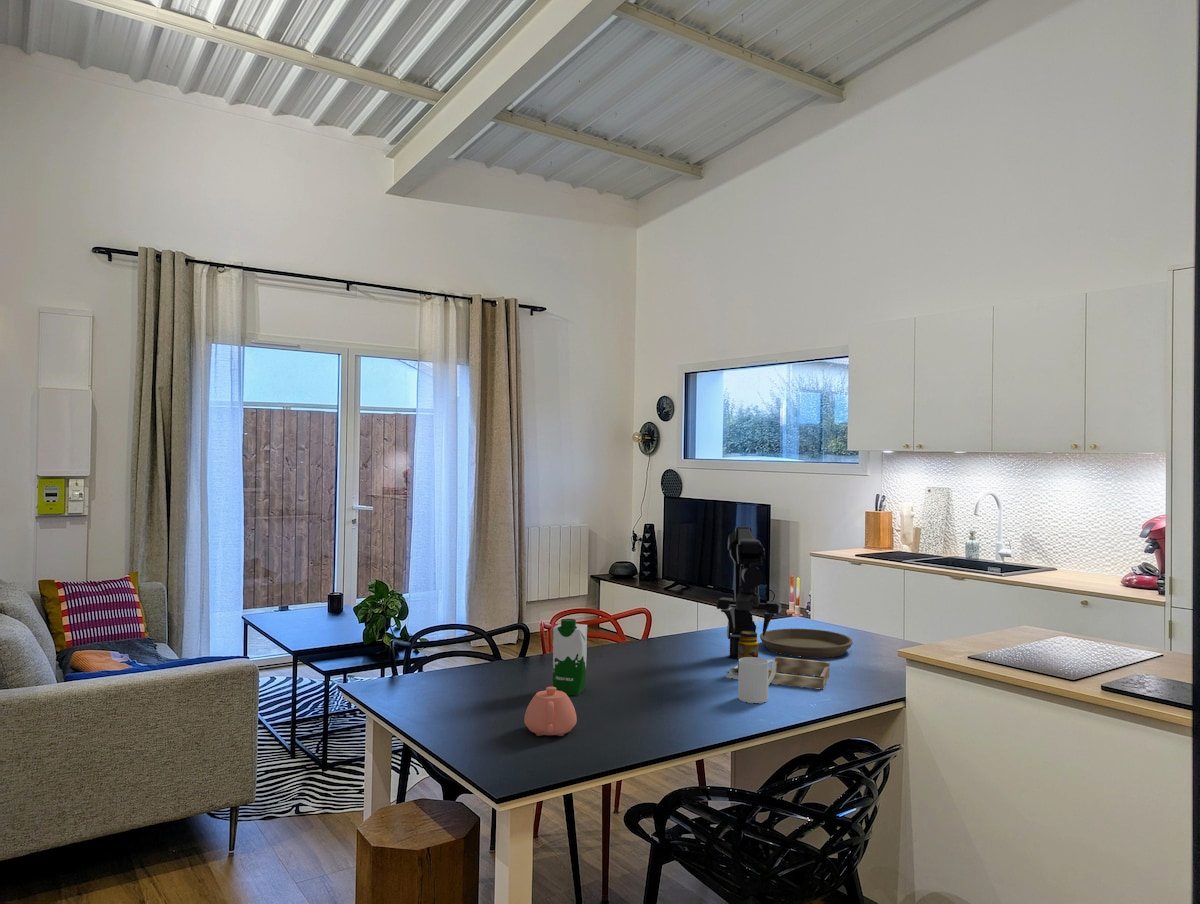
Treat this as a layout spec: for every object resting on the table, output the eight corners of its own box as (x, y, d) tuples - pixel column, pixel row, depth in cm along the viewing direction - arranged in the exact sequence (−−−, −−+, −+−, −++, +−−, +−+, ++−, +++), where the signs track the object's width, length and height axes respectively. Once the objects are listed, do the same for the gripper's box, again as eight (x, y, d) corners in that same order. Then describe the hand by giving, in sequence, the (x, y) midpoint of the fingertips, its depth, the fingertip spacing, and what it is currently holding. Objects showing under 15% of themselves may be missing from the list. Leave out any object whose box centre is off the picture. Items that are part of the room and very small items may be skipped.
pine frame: (766, 683, 236) (766, 667, 236) (775, 671, 250) (775, 656, 250) (823, 689, 230) (823, 673, 230) (829, 677, 244) (829, 662, 244)
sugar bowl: (576, 723, 197) (577, 680, 197) (576, 743, 183) (577, 697, 183) (525, 722, 196) (526, 680, 197) (522, 742, 182) (522, 696, 183)
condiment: (762, 675, 243) (762, 634, 243) (734, 675, 242) (735, 634, 242) (754, 668, 250) (755, 629, 250) (727, 669, 249) (728, 629, 249)
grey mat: (726, 677, 241) (726, 675, 241) (736, 667, 254) (736, 665, 254) (759, 681, 237) (759, 679, 237) (768, 670, 250) (768, 668, 250)
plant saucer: (755, 655, 271) (755, 642, 271) (764, 637, 301) (764, 624, 301) (852, 664, 262) (852, 650, 262) (852, 644, 291) (852, 631, 292)
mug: (753, 705, 214) (753, 665, 214) (732, 698, 220) (732, 659, 220) (785, 698, 221) (785, 659, 221) (763, 691, 227) (764, 654, 227)
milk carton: (549, 694, 221) (550, 620, 221) (559, 685, 230) (560, 614, 230) (579, 697, 218) (581, 622, 219) (589, 688, 227) (590, 616, 227)
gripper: (712, 583, 242) (711, 636, 242) (775, 588, 235) (774, 642, 235) (721, 578, 252) (720, 629, 252) (782, 583, 245) (781, 635, 245)
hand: (748, 634), depth 246 cm, fingers open, 9 cm apart
